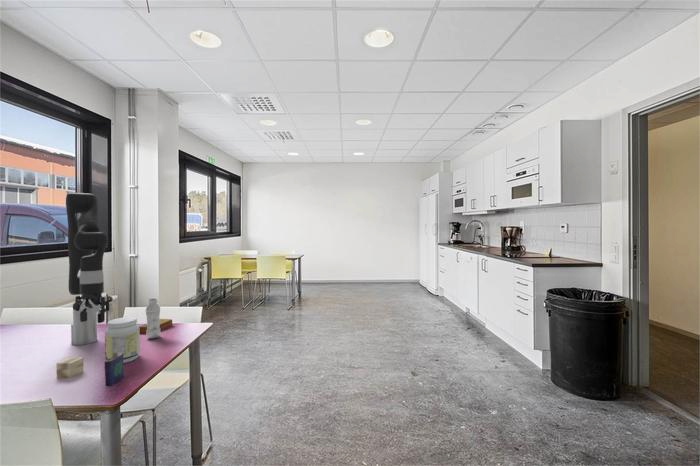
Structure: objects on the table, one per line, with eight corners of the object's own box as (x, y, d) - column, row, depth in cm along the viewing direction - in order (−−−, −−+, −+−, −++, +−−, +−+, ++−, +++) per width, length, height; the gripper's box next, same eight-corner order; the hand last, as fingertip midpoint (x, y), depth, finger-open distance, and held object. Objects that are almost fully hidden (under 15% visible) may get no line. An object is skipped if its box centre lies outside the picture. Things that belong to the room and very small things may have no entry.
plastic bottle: (154, 340, 161) (153, 300, 161) (142, 339, 163) (142, 300, 162) (164, 336, 168) (163, 298, 167) (152, 335, 169) (152, 297, 169)
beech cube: (56, 377, 121) (56, 363, 121) (70, 371, 126) (70, 357, 126) (70, 378, 121) (69, 363, 120) (83, 371, 126) (83, 357, 126)
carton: (172, 326, 187) (172, 318, 187) (151, 335, 171) (151, 327, 171) (160, 325, 188) (160, 318, 188) (137, 334, 173) (137, 326, 173)
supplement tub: (110, 356, 141) (109, 318, 141) (142, 352, 146) (142, 315, 146) (100, 367, 130) (100, 325, 130) (136, 362, 134) (135, 322, 134)
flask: (118, 375, 122) (117, 347, 122) (126, 375, 122) (126, 347, 122) (103, 387, 113) (102, 357, 113) (112, 386, 113) (111, 356, 113)
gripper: (67, 282, 127) (68, 323, 127) (96, 283, 124) (97, 325, 124) (87, 280, 134) (87, 318, 134) (115, 280, 131) (115, 320, 131)
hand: (92, 322), depth 129 cm, fingers open, 8 cm apart
